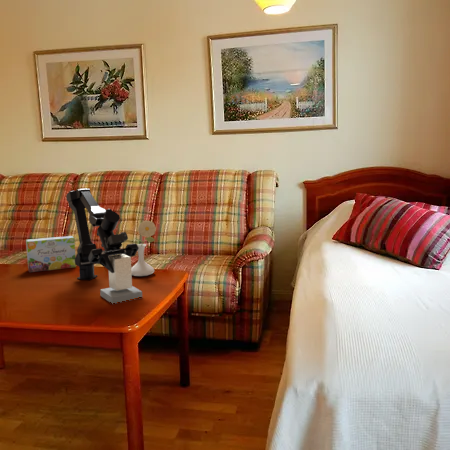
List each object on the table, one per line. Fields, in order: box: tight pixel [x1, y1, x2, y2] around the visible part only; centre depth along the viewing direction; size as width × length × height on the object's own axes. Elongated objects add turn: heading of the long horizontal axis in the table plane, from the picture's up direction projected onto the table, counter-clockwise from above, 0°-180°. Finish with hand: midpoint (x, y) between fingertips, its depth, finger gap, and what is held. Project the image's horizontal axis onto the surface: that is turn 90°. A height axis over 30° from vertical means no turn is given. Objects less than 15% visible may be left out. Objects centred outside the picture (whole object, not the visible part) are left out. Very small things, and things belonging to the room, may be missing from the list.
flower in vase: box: [131, 220, 157, 277], centre depth 199 cm, size 13×11×25 cm
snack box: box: [25, 235, 77, 273], centre depth 212 cm, size 21×6×15 cm, turn 117°
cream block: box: [107, 254, 133, 291], centre depth 169 cm, size 6×6×12 cm
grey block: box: [99, 285, 143, 305], centre depth 170 cm, size 12×12×3 cm
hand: (121, 271), depth 167 cm, fingers closed on cream block, 6 cm apart
